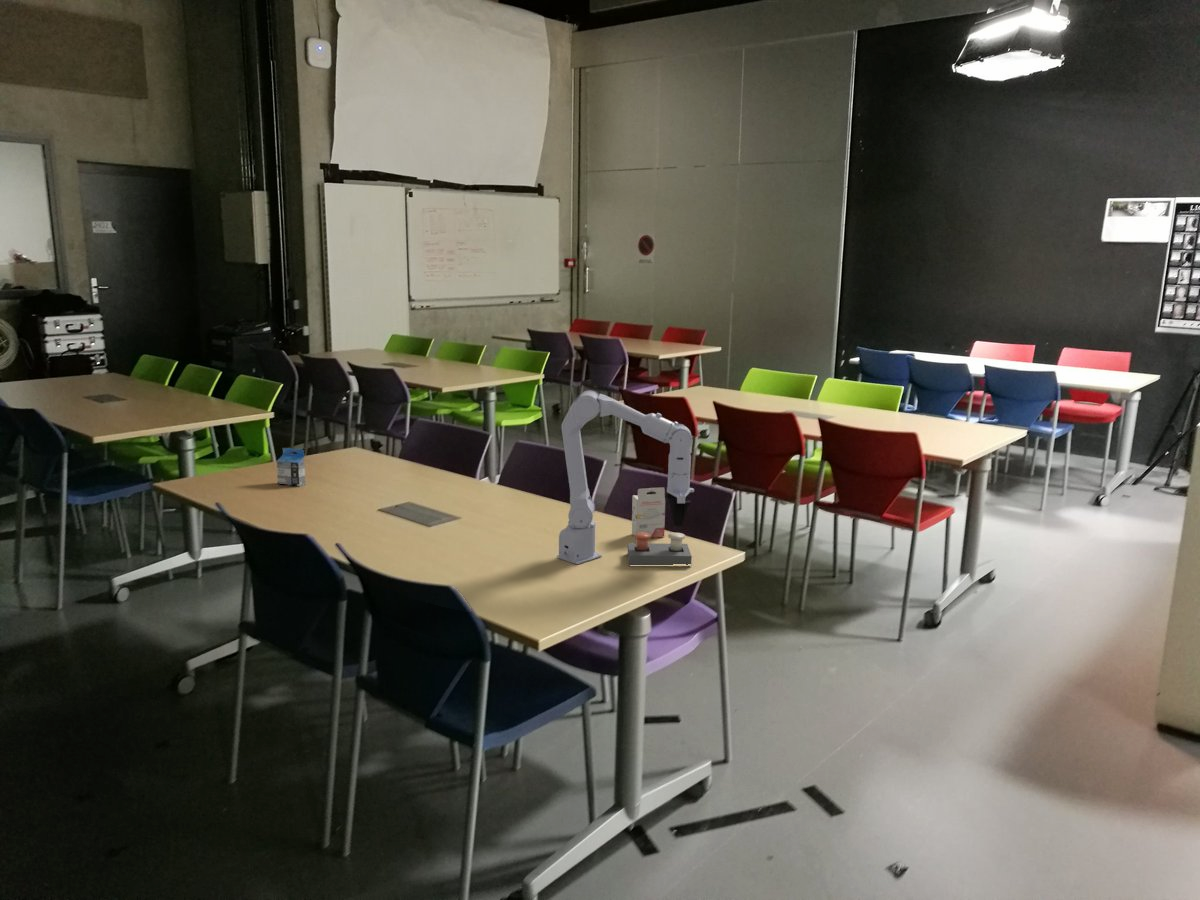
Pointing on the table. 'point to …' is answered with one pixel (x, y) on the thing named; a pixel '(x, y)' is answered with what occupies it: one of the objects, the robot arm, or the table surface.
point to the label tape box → (291, 467)
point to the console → (658, 555)
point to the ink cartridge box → (649, 512)
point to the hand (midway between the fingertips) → (677, 522)
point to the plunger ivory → (676, 541)
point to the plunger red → (642, 540)
